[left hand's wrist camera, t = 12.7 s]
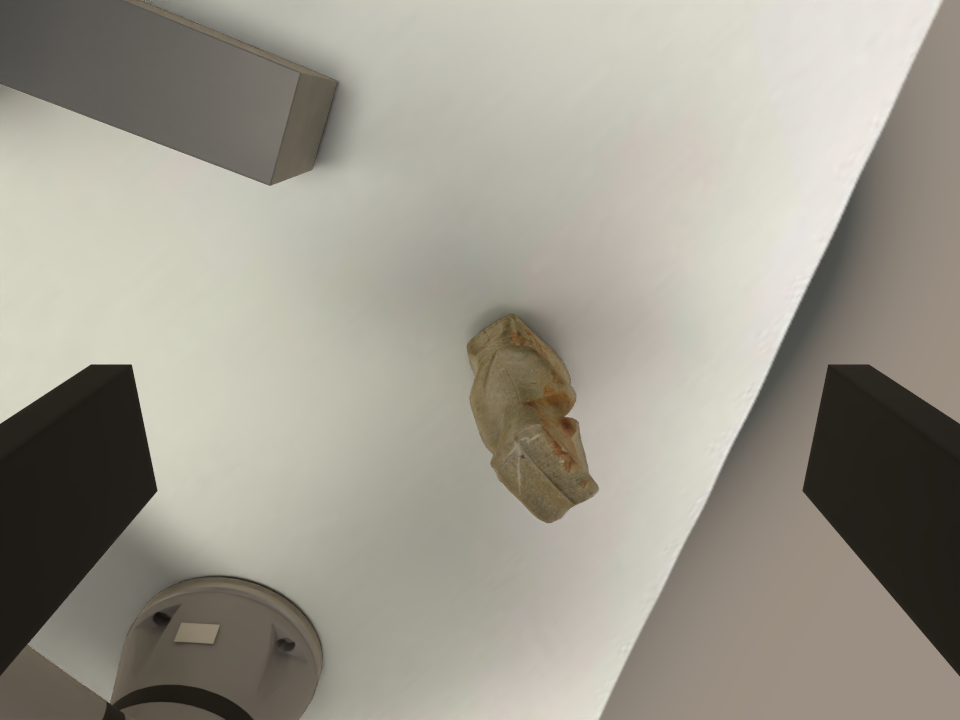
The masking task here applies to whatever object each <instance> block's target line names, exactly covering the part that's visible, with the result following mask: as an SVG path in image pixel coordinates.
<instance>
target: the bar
mask: <svg viewBox="0 0 960 720" xmlns="http://www.w3.org/2000/svg"><path fill="white" fill-rule="evenodd" d="M0 84H3V85H5V86H8V87H11V88H13V89H16V90H19V91H21V92H24V93H27V94H29V95H32V96H34V97H37V98H40V99H42V100H45V101H48V102H50V103H53V104H56V105H58V106H61V107H64V108H66V109H69V110H71V111H74V112H77V113H79V114H82V115H85V116H87V117H90V118H93V119H95V120H98V121H100V122H103V123H106V124H108V125H111V126H114V127H116V128H119V129H122V130H124V131H127V132H130V133H132V134H135V135H137V136H140V137H143V138H145V139H148V140H151V141H153V142H156V143H159V144H161V145H164V146H166V147H169V148H172V149H174V150H177V151H180V152H182V153H185V154H188V155H190V156H193V157H196V158H198V159H201V160H203V161H206V162H209V163H211V164H214V165H217V166H219V167H222V168H225V169H227V170H230V171H232V172H235V173H238V174H240V175H243V176H246V177H248V178H251V179H254V180H256V181H259V182H261V183H264V184H267V185H269V186H271V185H273V184H276V183H279V182H281V181H284V180H287V179H289V178H292V177H294V176H297V175H300V174H302V173H305V172H308V171H310V170H312V169H313V165H314V162H315V158H316V155H317V151H318V148H319V144H320V141H321V137H322V134H323V130H324V127H325V123H326V120H327V116H328V113H329V109H330V106H331V103H332V99H333V96H334V92H335V89H336V85H337V81H336V80H334V79H331V78H329V77H327V76H324V75H322V74H319V73H317V72H314V71H312V70H309V69H307V68H305V67H302V66H300V65H297V64H295V63H292V62H290V61H287V60H285V59H283V58H280V57H278V56H275V55H273V54H270V53H268V52H265V51H263V50H261V49H258V48H256V47H253V46H251V45H248V44H246V43H243V42H241V41H239V40H236V39H234V38H231V37H229V36H226V35H224V34H221V33H219V32H217V31H214V30H212V29H209V28H207V27H204V26H202V25H199V24H197V23H195V22H192V21H190V20H187V19H185V18H182V17H180V16H177V15H175V14H172V13H170V12H168V11H165V10H163V9H160V8H158V7H155V6H153V5H150V4H148V3H146V2H143V1H141V0H0Z"/></svg>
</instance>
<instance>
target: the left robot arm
mask: <svg viewBox="0 0 960 720" xmlns="http://www.w3.org/2000/svg"><path fill="white" fill-rule="evenodd" d="M156 492H157V486H156V481H155V476H154V471H153V467H152V462H151V457H150V452H149V447H148V442H147V437H146V432H145V427H144V422H143V418H142V413H141V408H140V403H139V398H138V393H137V388H136V383H135V378H134V373H133V368H132V365H90V366H88V367H87V368H85V369H84V370H82V371H80V372H79V373H77V374H76V375H74V376H73V377H71V378H70V379H68V380H67V381H65V382H64V383H62V384H61V385H59V386H58V387H56V388H54V389H53V390H51V391H50V392H48V393H47V394H45V395H44V396H42V397H41V398H39V399H38V400H36V401H35V402H33V403H31V404H30V405H28V406H27V407H25V408H24V409H22V410H21V411H19V412H18V413H16V414H15V415H13V416H12V417H10V418H9V419H7V420H5V421H4V422H2V423H1V424H0V720H299V719H300V717H301V716H302V714H303V713H304V712H305V710H306V709H307V707H308V705H309V703H310V702H311V700H312V698H313V696H314V693H315V690H316V687H317V683H318V680H319V676H320V673H321V667H322V651H321V646H320V643H319V640H318V637H317V635H316V633H315V630H314V629H313V627H312V625H311V624H310V622H309V621H308V620H307V618H306V617H305V616H304V615H303V614H302V613H301V612H300V610H299V609H297V608H296V607H295V606H294V605H293V604H292V603H290V602H289V601H288V600H286V599H285V598H283V597H282V596H280V595H279V594H277V593H275V592H273V591H271V590H269V589H267V588H265V587H262V586H260V585H257V584H254V583H251V582H248V581H244V580H239V579H233V578H224V577H206V578H197V579H191V580H187V581H183V582H180V583H178V584H175V585H173V586H170V587H168V588H166V589H165V590H163V591H161V592H160V593H159V594H157V595H156V596H154V597H153V598H152V599H151V600H150V601H149V602H148V603H147V604H146V606H145V607H144V608H143V610H142V611H141V613H140V614H139V616H138V617H137V618H136V620H135V621H134V623H133V625H132V626H131V628H130V630H129V632H128V634H127V637H126V640H125V642H124V645H123V649H122V654H121V658H120V662H119V667H118V671H117V676H116V680H115V684H114V689H113V693H112V698H111V702H110V703H108V702H107V701H106V700H104V699H103V698H101V697H100V696H99V695H97V694H96V693H94V692H93V691H91V690H90V689H88V688H87V687H86V686H84V685H83V684H81V683H80V682H78V681H77V680H76V679H74V678H73V677H71V676H70V675H69V674H67V673H66V672H64V671H63V670H62V669H60V668H59V667H57V666H56V665H55V664H53V663H52V662H50V661H49V660H48V659H46V658H45V657H43V656H42V655H41V654H39V653H38V652H36V651H35V650H34V649H32V648H31V647H29V646H28V645H27V644H28V643H29V642H30V641H31V639H32V638H33V637H34V636H35V635H36V633H37V632H38V631H39V630H40V629H41V628H42V626H43V625H44V624H45V623H46V622H47V621H48V619H49V618H50V617H51V616H52V615H53V613H54V612H55V611H56V610H57V609H58V608H59V606H60V605H61V604H62V603H63V602H64V600H65V599H66V598H67V597H68V596H69V595H70V593H71V592H72V591H73V590H74V589H75V587H76V586H77V585H78V584H79V583H80V582H81V580H82V579H83V578H84V577H85V576H86V575H87V573H88V572H89V571H90V570H91V569H92V567H93V566H94V565H95V564H96V563H97V562H98V560H99V559H100V558H101V557H102V556H103V554H104V553H105V552H106V551H107V550H108V549H109V547H110V546H111V545H112V544H113V543H114V542H115V540H116V539H117V538H118V537H119V536H120V534H121V533H122V532H123V531H124V530H125V529H126V527H127V526H128V525H129V524H130V523H131V521H132V520H133V519H134V518H135V517H136V516H137V514H138V513H139V512H140V511H141V510H142V508H143V507H144V506H145V505H146V504H147V503H148V501H149V500H150V499H151V498H152V497H153V496H154V494H155V493H156ZM803 492H804V493H805V494H806V496H807V497H808V498H809V499H810V500H811V501H812V503H813V504H814V505H815V506H816V507H817V508H818V510H819V511H820V512H821V513H822V514H823V516H824V517H825V518H826V519H827V520H828V521H829V523H830V524H831V525H832V526H833V527H834V529H835V530H836V531H837V532H838V533H839V534H840V536H841V537H842V538H843V539H844V540H845V542H846V543H847V544H848V545H849V546H850V547H851V549H852V550H853V551H854V552H855V553H856V554H857V556H858V557H859V558H860V559H861V560H862V562H863V563H864V564H865V565H866V566H867V567H868V569H869V570H870V571H871V572H872V573H873V574H874V576H875V577H876V578H877V579H878V580H879V582H880V583H881V584H882V585H883V586H884V587H885V589H886V590H887V591H888V592H889V593H890V595H891V596H892V597H893V598H894V599H895V600H896V602H897V603H898V604H899V605H900V606H901V608H902V609H903V610H904V611H905V612H906V613H907V615H908V616H909V617H910V618H911V619H912V620H913V622H914V623H915V624H916V625H917V626H918V628H919V629H920V630H921V631H922V632H923V633H924V635H925V636H926V637H927V638H928V639H929V641H930V642H931V643H932V644H933V645H934V646H935V648H936V649H937V650H938V651H939V652H940V654H941V655H942V656H943V657H944V658H945V659H946V661H947V662H948V663H949V664H950V665H951V666H952V668H953V669H954V670H955V671H956V672H957V674H958V675H959V676H960V424H959V423H958V422H956V421H955V420H953V419H951V418H950V417H948V416H947V415H945V414H944V413H942V412H941V411H939V410H938V409H936V408H935V407H933V406H932V405H930V404H929V403H927V402H925V401H924V400H922V399H921V398H919V397H918V396H916V395H915V394H913V393H912V392H910V391H909V390H907V389H906V388H904V387H902V386H901V385H899V384H898V383H896V382H895V381H893V380H892V379H890V378H889V377H887V376H886V375H884V374H883V373H881V372H880V371H878V370H876V369H875V368H873V367H872V366H870V365H828V368H827V373H826V378H825V383H824V388H823V393H822V398H821V403H820V408H819V413H818V418H817V422H816V427H815V432H814V437H813V442H812V447H811V452H810V457H809V462H808V467H807V471H806V476H805V481H804V486H803Z"/></svg>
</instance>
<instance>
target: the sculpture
mask: <svg viewBox="0 0 960 720" xmlns="http://www.w3.org/2000/svg"><path fill="white" fill-rule="evenodd" d="M467 352H468V356H469V360H470V364H471V367H472V370H473V372H474V375H475V377H476V378H475V381H474V384H473V387H472V390H471V394H470V404H471V408H472V411H473V414H474V417H475V420H476V423H477V427H478V430H479V433H480V436H481V438H482V440H483V442H484V444H485V446H486V447H487V449H488V450H489V451H490V452H491V453H493V454H494V455H493V458H492V460H491V466H492V467H493V468H494V470H495V472H496V473H497V477H498V479H499V481H501V482H502V483H503V484H504V485H505V486H506V487H507V488H508V490H509V491H510V492H511V493H512V494H513V495H514V496H515V497H517V498H518V499H519V500H520V501H521V502H522V503H523V504H524V506H525V507H526V508H527V509H528V510H529V511H530V512H531V513H532V514H533V515H534V516H535V517H537V518H538V519H539V520H541V521H544V522H546V523H551V522H554V521H556V520H558V519H560V518H562V517H563V516H564V514H565V513H566V512H567V511H568V510H569V509H570V508H571V507H573V506H575V505H577V504H579V503H581V502H584V501H586V500H588V499H589V498H591V497H593V496H594V495H595V494H596V493H597V492H598V489H599V488H598V485H597V484H596V482H595V481H594V480H593V478H592V477H591V476H590V474H589V472H588V465H587V461H586V456H585V452H584V449H583V445H582V442H581V437H580V431H579V423H578V421H577V420H575V419H573V418H568V417H565V416H566V415H567V414H568V413H569V411H570V410H571V409H572V407H573V406H574V403H575V401H576V393H575V390H574V389H573V388H572V386H571V385H570V384H571V379H570V375H569V373H568V371H567V369H566V367H565V366H564V364H563V362H562V361H561V360H560V359H559V357H558V356H557V355H556V354H555V353H554V352H553V351H552V350H551V349H550V348H549V347H548V346H547V345H546V344H545V343H544V342H543V341H542V340H541V339H540V338H539V337H538V336H537V335H535V334H534V333H533V332H532V331H531V330H530V329H529V328H528V327H527V326H526V325H525V324H524V323H523V322H522V321H521V320H520V319H519V318H518V317H517V316H516V315H514V314H510V315H508V316H506V317H503V318H501V319H499V320H497V321H495V322H494V323H492V324H491V325H489V326H488V327H487V328H485V329H484V330H482V331H481V332H480V333H478V334H477V335H476V336H475V337H474V338H473V339H472V340H471V341H470V342H469V343H468V344H467Z"/></svg>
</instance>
